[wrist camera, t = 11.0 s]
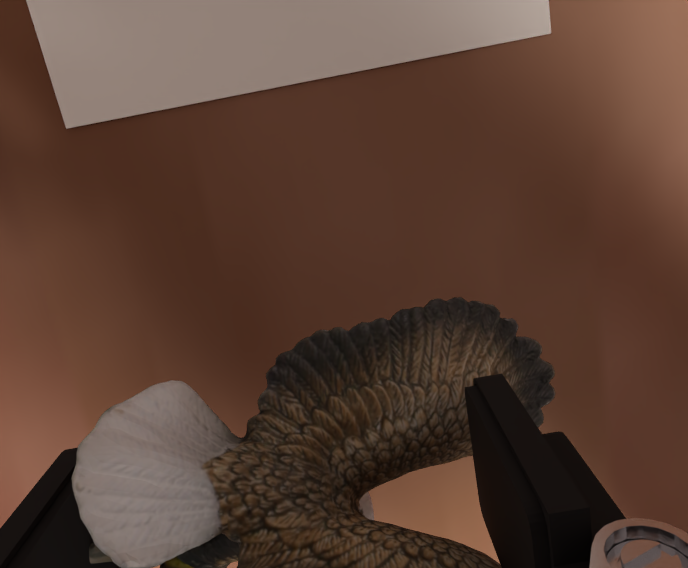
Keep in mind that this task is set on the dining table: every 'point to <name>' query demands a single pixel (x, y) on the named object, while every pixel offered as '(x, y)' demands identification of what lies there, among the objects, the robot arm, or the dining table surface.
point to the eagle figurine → (303, 449)
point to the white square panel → (248, 45)
